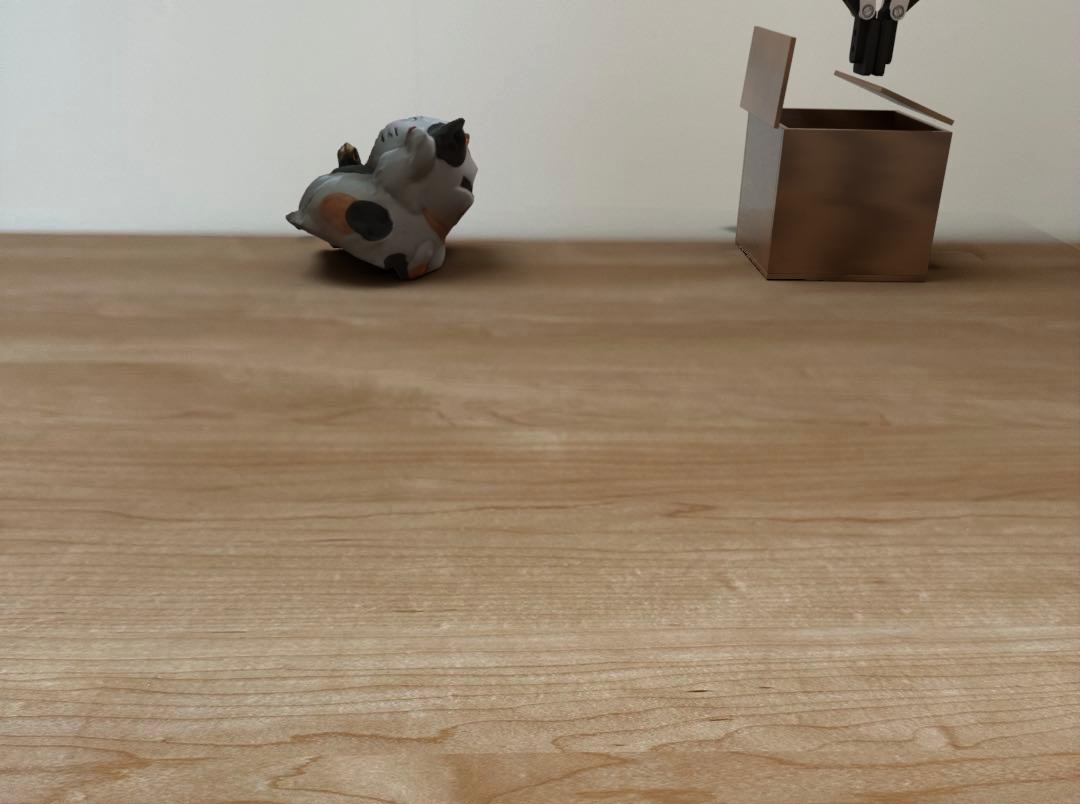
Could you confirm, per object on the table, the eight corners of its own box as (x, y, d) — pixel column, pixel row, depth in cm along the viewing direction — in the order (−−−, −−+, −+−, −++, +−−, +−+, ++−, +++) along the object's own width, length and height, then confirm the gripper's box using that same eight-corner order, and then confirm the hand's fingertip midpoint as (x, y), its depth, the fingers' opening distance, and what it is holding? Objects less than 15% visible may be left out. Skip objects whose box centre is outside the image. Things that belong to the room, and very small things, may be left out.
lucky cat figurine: (322, 238, 99) (391, 88, 96) (442, 304, 99) (515, 155, 96) (258, 223, 85) (337, 45, 82) (399, 300, 84) (484, 124, 81)
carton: (876, 244, 103) (910, 29, 95) (925, 282, 92) (969, 41, 83) (726, 242, 102) (747, 25, 94) (756, 279, 91) (784, 36, 83)
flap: (897, 104, 98) (899, 99, 97) (952, 125, 86) (954, 120, 86) (833, 74, 96) (835, 69, 96) (880, 92, 85) (882, 86, 85)
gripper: (990, -191, 85) (943, 72, 94) (794, -199, 85) (764, 67, 93) (1033, -202, 79) (977, 82, 87) (821, -210, 78) (786, 76, 87)
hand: (867, 73), depth 90 cm, fingers closed
